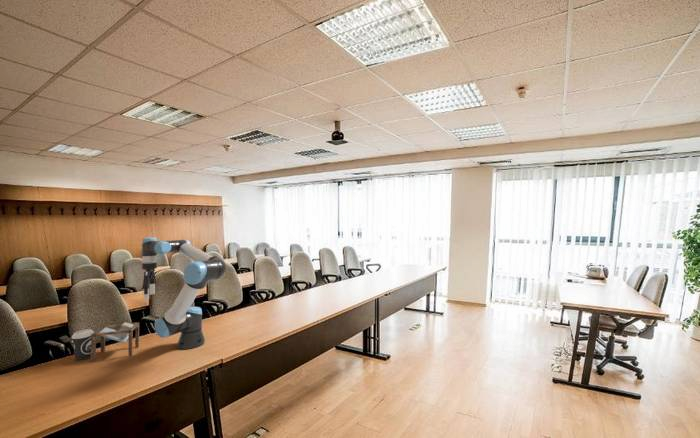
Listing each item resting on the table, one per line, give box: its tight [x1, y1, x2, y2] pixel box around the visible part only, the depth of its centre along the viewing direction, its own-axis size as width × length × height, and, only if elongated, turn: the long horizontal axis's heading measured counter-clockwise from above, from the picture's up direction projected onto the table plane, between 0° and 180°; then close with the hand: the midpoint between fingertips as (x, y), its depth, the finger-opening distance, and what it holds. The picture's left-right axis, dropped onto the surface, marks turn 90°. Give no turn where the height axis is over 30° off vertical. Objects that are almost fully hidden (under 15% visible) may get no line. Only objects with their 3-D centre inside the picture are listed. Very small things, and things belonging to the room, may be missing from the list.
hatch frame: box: [90, 322, 140, 363], centre depth 171 cm, size 18×14×15 cm
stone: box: [116, 321, 133, 339], centre depth 173 cm, size 5×5×7 cm
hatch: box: [99, 327, 129, 344], centre depth 171 cm, size 14×11×1 cm
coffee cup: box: [70, 328, 95, 362], centre depth 166 cm, size 10×10×15 cm
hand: (149, 296), depth 182 cm, fingers open, 13 cm apart
